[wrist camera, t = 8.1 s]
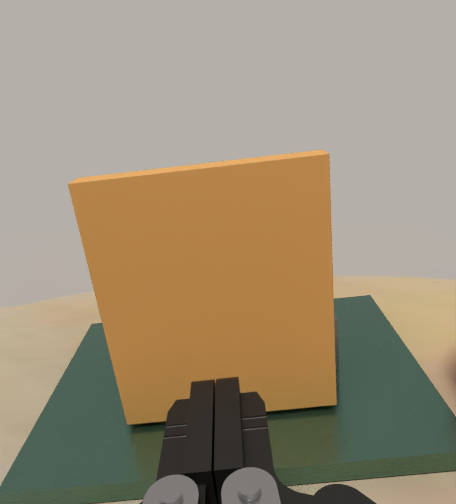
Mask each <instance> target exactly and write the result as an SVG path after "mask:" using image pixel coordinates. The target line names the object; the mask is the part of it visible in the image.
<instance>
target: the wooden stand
mask: <svg viewBox="0 0 456 504" xmlns="http://www.w3.org/2000/svg"><path fill="white" fill-rule="evenodd" d="M68 186H69V191H70V195H71V199H72V203H73V207H74V211H75V215H76V219H77V223H78V227H79V231H80V235H81V239H82V243H83V248H84V251H85V256H86V260H87V264H88V268H89V272H90V276H91V280H92V284H93V288H94V292H95V296H96V300H97V304H98V308H99V312H100V316H101V321H102V325H103V329H104V333H105V337H106V341H107V345H108V349H109V353H110V357H111V361H112V365H113V369H114V373H115V377H116V381H117V385H118V390H119V394H120V398H121V402H122V406H123V410H124V414H125V418H126V422H127V425H130V424H141V423H151V422H162V421H166V419H167V413H168V411H169V409H170V408H171V407H172V405H173V404H174V402H175V401H176V400H180V399H189V398H190V389H191V382H192V381H202V380H211V379H214V380H215V384H216V379H220V378H229V377H239V384H240V392H241V393H246V392H255V391H256V392H257V393H258V394H259V395H260V397H261V398H262V399H263V401H264V402H265V408H266V411H276V410H287V409H297V408H308V407H318V406H329V405H337V399H336V365H335V331H334V298H333V264H332V234H331V233H332V231H331V199H330V166H329V153H327V152H325V151H324V150H315V151H307V152H298V153H290V154H282V155H273V156H263V157H255V158H246V159H238V160H229V161H220V162H212V163H203V164H195V165H185V166H177V167H168V168H160V169H151V170H142V171H133V172H125V173H116V174H108V175H99V176H90V177H81V178H77V179H75V180H74V181H72V182H70V183H69V184H68Z"/></svg>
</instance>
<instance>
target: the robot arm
mask: <svg viewBox="0 0 456 504" xmlns="http://www.w3.org/2000/svg"><path fill="white" fill-rule="evenodd" d="M165 426H166V428H165V431H164V439H163V443H162V449H161V455H160V461H159V467H158V473H157V479H156V482H155V483H154V484H153V485H152V486H151V487H150V488H149V489H148V490H147V492H146V494H145V496H144V499H143V502H141V503H140V504H376V503H375V502H373V501H372V500H371V499H369V498H368V497H366V496H365V495H364V494H362V493H361V492H360V491H358V490H356V489H355V488H353V487H350V486H347V485H343V484H332V485H328V486H325V487H323V488H321V489H320V490H318V491H317V492H316V493H315V494H314V496H313V495H308V494H303V493H299V492H296V491H293V490H291V489H289V488H288V487H286V486H285V485H284V484H282V483H281V481H280V480H279V479H278V477H277V476H276V474H275V471H274V466H273V458H272V451H271V444H270V437H269V430H268V423H267V415H266V408H265V402H264V401H263V399H262V398H261V397H260V395H259V394H258V393H257V392H256V391H255V392H246V393H241V392H240V384H239V377H229V378H220V379H216V384H215V380H214V379H211V380H202V381H192V382H191V389H190V398H189V399H180V400H176V401H175V402H174V404H173V405H172V407H171V408H170V409H169V411H168V413H167V419H166V425H165Z"/></svg>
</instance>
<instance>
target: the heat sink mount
mask: <svg viewBox="0 0 456 504" xmlns="http://www.w3.org/2000/svg"><path fill="white" fill-rule="evenodd" d="M334 331H335V365H336V399H337V405H329V406H318V407H308V408H297V409H287V410H276V411H266V415H267V423H268V430H269V437H270V444H271V451H272V458H273V466H274V471H275V474H276V476H277V477H278V479H279V480H280V481H281V483H282V484H284V485H285V486H289V485H300V484H311V483H322V482H334V481H345V480H356V479H367V478H378V477H389V476H400V475H411V474H423V473H434V472H445V471H456V417H455V415H454V414H453V412H452V411H451V409H450V408H449V407H448V405H447V404H446V402H445V401H444V400H443V398H442V397H441V395H440V394H439V392H438V391H437V390H436V388H435V387H434V385H433V384H432V382H431V381H430V380H429V378H428V377H427V375H426V374H425V372H424V371H423V370H422V368H421V367H420V365H419V364H418V363H417V361H416V360H415V358H414V357H413V355H412V354H411V353H410V351H409V350H408V348H407V347H406V345H405V344H404V343H403V341H402V340H401V338H400V337H399V336H398V334H397V333H396V331H395V330H394V328H393V327H392V326H391V324H390V323H389V321H388V320H387V318H386V317H385V316H384V314H383V313H382V311H381V310H380V308H379V307H378V306H377V304H376V303H375V301H374V300H373V299H372V297H371V296H370V295H366V296H357V297H347V298H338V299H334ZM165 425H166V421H162V422H151V423H141V424H130V425H127V422H126V418H125V414H124V410H123V406H122V402H121V398H120V394H119V390H118V385H117V381H116V377H115V373H114V369H113V365H112V361H111V357H110V353H109V349H108V345H107V341H106V337H105V333H104V329H103V325H102V323H97V324H91V326H90V328H89V330H88V332H87V333H86V335H85V337H84V339H83V340H82V342H81V344H80V346H79V347H78V349H77V351H76V353H75V355H74V356H73V358H72V360H71V362H70V363H69V365H68V367H67V369H66V371H65V372H64V374H63V376H62V378H61V379H60V381H59V383H58V385H57V387H56V388H55V390H54V392H53V394H52V395H51V397H50V399H49V401H48V402H47V404H46V406H45V408H44V410H43V411H42V413H41V415H40V417H39V418H38V420H37V422H36V424H35V426H34V427H33V429H32V431H31V433H30V434H29V436H28V438H27V440H26V441H25V443H24V445H23V447H22V449H21V450H20V452H19V454H18V456H17V457H16V459H15V461H14V463H13V465H12V466H11V468H10V470H9V472H8V473H7V475H6V477H5V479H4V481H3V482H2V484H1V486H0V504H89V503H100V502H111V501H122V500H133V499H144V496H145V494H146V492H147V490H148V489H149V488H150V487H151V486H152V485H153V484H154V483H155V482H156V479H157V473H158V467H159V461H160V455H161V449H162V443H163V439H164V431H165V428H166V426H165Z"/></svg>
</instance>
